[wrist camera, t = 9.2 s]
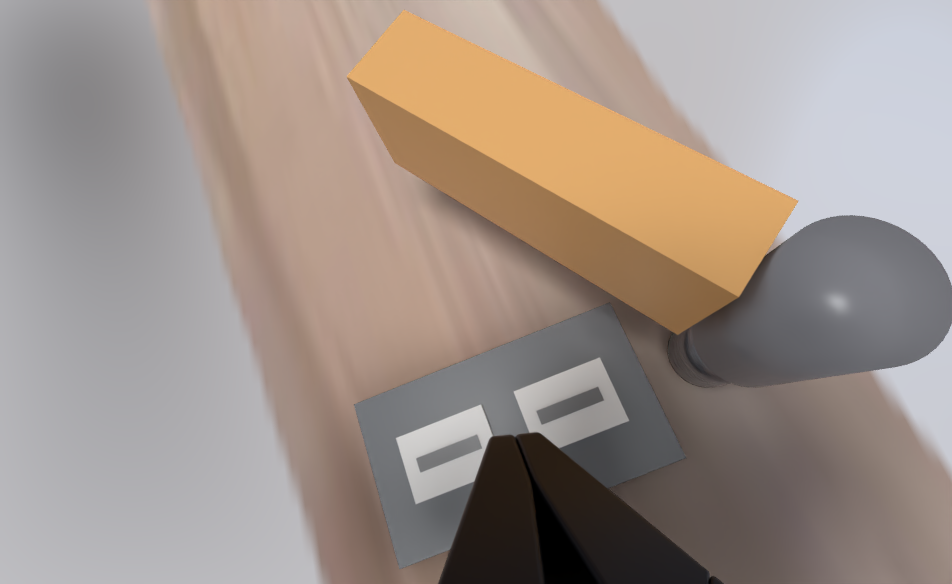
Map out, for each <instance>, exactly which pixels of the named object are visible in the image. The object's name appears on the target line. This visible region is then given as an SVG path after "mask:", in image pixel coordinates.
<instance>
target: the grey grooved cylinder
mask: <svg viewBox="0 0 952 584" xmlns="http://www.w3.org/2000/svg"><path fill="white" fill-rule="evenodd" d="M668 356H669V360H670V363H671V365H672V367H673V368H674V370H675V371H676V372H677V374H678V375H679V376H680V377H682V378H683V379H684V380H686V381H687V382H689V383H691V384H693V385H696V386H700V387H715V386H720V385H725V384H731V383H730V382H727V381H725V380H724V379H722V378H720V377H718V376H717V375H716V374H714V373H713V372H712V371H711V370H710V369H708V367H707V366H706V365H705V364H704V363H703V361H702V360H701V359H700V357H699V355H698V353H697V351H696V349H695V346H694V343H693V339H692V326H691V327H690V328H688V329H686V330H685V331H683V332H681V333H680V334H678V335H677V334H675V333H674V332H673V334H672V336H671V338H670V340H669V344H668Z"/></svg>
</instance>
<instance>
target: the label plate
mask: <svg viewBox="0 0 952 584" xmlns="http://www.w3.org/2000/svg"><path fill="white" fill-rule="evenodd" d="M354 406H355V410H356V413H357V417H358V421H359V424H360V428H361V432H362V435H363V439H364V442H365V446H366V450H367V453H368V457H369V460H370V464H371V468H372V471H373V475H374V478H375V482H376V486H377V489H378V493H379V496H380V500H381V504H382V507H383V511H384V515H385V518H386V522H387V525H388V529H389V533H390V536H391V540H392V543H393V547H394V551H395V554H396V558H397V561H398V565H399V569H401V568H404V567H407V566H409V565H412V564H414V563H417V562H419V561H422V560H425V559H427V558H430V557H432V556H435V555H438V554H440V553H443V552H445V551H448V550H450V549H451V546H452V543H453V540H454V537H455V535H456V532H457V529H458V526H459V523H460V520H461V518H462V515H463V512H464V509H465V506H466V503H467V500H468V498H469V495H470V492H471V489H472V486H473V483H474V481H475V478H476V475H477V472H478V469H479V466H480V463H481V461H482V458H483V455H484V452H485V449H486V446H487V444H488V441H489V439H490V437H492V436H499V435H513V436H514V437H516V435H517V434H521V433H531V432H539V433H541V434H542V435H544V436H545V437H546V438H547V439H548V440H550V441H551V442H552V443H553V444H554V445H556V446H557V447H558V448H559V449H561V450H562V451H563V452H564V453H565V454H567V455H568V456H569V457H570V458H571V459H573V460H574V461H575V462H576V463H578V464H579V465H580V466H581V467H582V468H584V469H585V470H586V471H587V472H588V473H590V474H591V475H592V476H593V477H595V478H596V479H597V480H598V481H599V482H601V483H602V484H603V485H604V486H605V487H607V488H610V487H613V486H615V485H618V484H620V483H623V482H625V481H628V480H631V479H633V478H636V477H638V476H641V475H643V474H646V473H649V472H651V471H654V470H656V469H659V468H661V467H664V466H667V465H669V464H672V463H674V462H677V461H680V460H682V459H685V458H686V456H685V454H684V452H683V450H682V448H681V446H680V444H679V442H678V440H677V438H676V436H675V434H674V432H673V430H672V428H671V426H670V424H669V422H668V420H667V418H666V415H665V413H664V411H663V409H662V407H661V405H660V403H659V401H658V399H657V397H656V395H655V393H654V391H653V389H652V387H651V385H650V383H649V381H648V379H647V377H646V375H645V373H644V371H643V369H642V367H641V365H640V363H639V361H638V359H637V357H636V355H635V352H634V350H633V348H632V346H631V344H630V342H629V340H628V338H627V336H626V334H625V332H624V330H623V328H622V326H621V324H620V322H619V320H618V318H617V316H616V314H615V312H614V310H613V308H612V306H611V304H610V303H607V304H605V305H602V306H600V307H597V308H595V309H592V310H590V311H587V312H585V313H582V314H580V315H577V316H575V317H572V318H570V319H567V320H565V321H562V322H560V323H557V324H555V325H552V326H550V327H547V328H544V329H542V330H539V331H537V332H534V333H532V334H529V335H527V336H524V337H522V338H519V339H517V340H514V341H512V342H509V343H507V344H504V345H502V346H499V347H497V348H494V349H492V350H489V351H487V352H484V353H482V354H479V355H477V356H474V357H472V358H469V359H467V360H464V361H462V362H459V363H457V364H454V365H452V366H449V367H447V368H444V369H442V370H439V371H437V372H434V373H432V374H429V375H427V376H424V377H422V378H419V379H417V380H414V381H412V382H409V383H407V384H404V385H402V386H399V387H397V388H394V389H392V390H389V391H387V392H384V393H382V394H379V395H377V396H374V397H372V398H369V399H367V400H364V401H362V402H359V403H357V404H354Z"/></svg>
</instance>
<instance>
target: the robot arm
mask: <svg viewBox="0 0 952 584" xmlns="http://www.w3.org/2000/svg"><path fill="white" fill-rule="evenodd" d="M438 584H724V583H722V582H721V581H720V580H719V579H717V578H716V577H714V576H712V577H710V574H709V572H708V571H707V570H706V569H705V568H704V567H703V566H701V565H700V564H699V563H698V562H696V561H695V560H694V559H693V558H692V557H690V556H689V555H688V554H687V553H686V552H684V551H683V550H682V549H681V548H680V547H678V546H677V545H676V544H675V543H673V542H672V541H671V540H670V539H669V538H667V537H666V536H665V535H664V534H663V533H661V532H660V531H659V530H658V529H656V528H655V527H654V526H653V525H652V524H650V523H649V522H648V521H647V520H646V519H644V518H643V517H642V516H641V515H639V514H638V513H637V512H636V511H635V510H633V509H632V508H631V507H630V506H629V505H627V504H626V503H625V502H624V501H622V500H621V499H620V498H619V497H618V496H616V495H615V494H614V493H613V492H612V491H610V490H609V489H608V488H607V487H605V486H604V485H603V484H602V483H601V482H599V481H598V480H597V479H596V478H595V477H593V476H592V475H591V474H590V473H588V472H587V471H586V470H585V469H584V468H582V467H581V466H580V465H579V464H578V463H576V462H575V461H574V460H573V459H571V458H570V457H569V456H568V455H567V454H565V453H564V452H563V451H562V450H561V449H559V448H558V447H557V446H556V445H554V444H553V443H552V442H551V441H550V440H548V439H547V438H546V437H545V436H544V435H542V434H541V433H539V432H531V433H521V434H517V435H516V437H514V436H513V435H499V436H492V437H490V439H489V441H488V444H487V446H486V449H485V452H484V455H483V458H482V461H481V463H480V466H479V469H478V472H477V475H476V478H475V481H474V483H473V486H472V489H471V492H470V495H469V498H468V500H467V503H466V506H465V509H464V512H463V515H462V518H461V520H460V523H459V526H458V529H457V532H456V535H455V537H454V540H453V543H452V546H451V549H450V552H449V554H448V557H447V560H446V563H445V566H444V569H443V572H442V574H441V577H440V580H439V583H438Z"/></svg>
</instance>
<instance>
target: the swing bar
mask: <svg viewBox="0 0 952 584" xmlns="http://www.w3.org/2000/svg"><path fill="white" fill-rule="evenodd" d="M347 78H348V80H349V82H350V84H351V86H352V87H353V89H354V91H355V93H356V94H357V96H358V98H359V100H360V102H361V103H362V105H363V107H364V109H365V110H366V112H367V114H368V116H369V118H370V119H371V121H372V123H373V125H374V127H375V128H376V130H377V132H378V134H379V135H380V137H381V139H382V141H383V143H384V144H385V146H386V148H387V150H388V151H389V153H390V155H391V157H392V159H393V160H394V162H395V163H396V164H398V165H399V166H401V167H402V168H404V169H406V170H407V171H409V172H411V173H412V174H414V175H416V176H417V177H419V178H421V179H422V180H424V181H425V182H427V183H429V184H430V185H432V186H434V187H435V188H437V189H439V190H440V191H442V192H444V193H445V194H447V195H449V196H450V197H452V198H453V199H455V200H457V201H458V202H460V203H462V204H463V205H465V206H467V207H468V208H470V209H472V210H473V211H475V212H476V213H478V214H480V215H481V216H483V217H485V218H486V219H488V220H490V221H491V222H493V223H495V224H496V225H498V226H499V227H501V228H503V229H504V230H506V231H508V232H509V233H511V234H513V235H514V236H516V237H518V238H519V239H521V240H522V241H524V242H526V243H527V244H529V245H531V246H532V247H534V248H536V249H537V250H539V251H541V252H542V253H544V254H545V255H547V256H549V257H550V258H552V259H554V260H555V261H557V262H559V263H560V264H562V265H564V266H565V267H567V268H569V269H570V270H572V271H573V272H575V273H577V274H578V275H580V276H582V277H583V278H585V279H587V280H588V281H590V282H592V283H593V284H595V285H596V286H598V287H600V288H601V289H603V290H605V291H606V292H608V293H610V294H611V295H613V296H615V297H616V298H618V299H619V300H621V301H623V302H624V303H626V304H628V305H629V306H631V307H633V308H634V309H636V310H638V311H639V312H641V313H642V314H644V315H646V316H647V317H649V318H651V319H652V320H654V321H656V322H657V323H659V324H661V325H662V326H664V327H666V328H667V329H669V330H670V331H672V332H674V333H675V334H677V335H678V334H680V333H681V332H683V331H685V330H686V329H688V328H690V327H691V326H692V339H693V343H694V346H695V349H696V351H697V353H698V355H699V357H700V359H701V360H702V361H703V363H704V364H705V365H706V366H707V367H708V369H710V370H711V371H712V372H713V373H714V374H716V375H717V376H718V377H720V378H722V379H724V380H725V381H727V382H730V383H732V384H735V385H739V386H744V387H764V386H771V385H778V384H785V383H791V382H798V381H805V380H811V379H818V378H825V377H832V376H838V375H845V374H852V373H859V372H865V371H872V370H879V369H885V368H892V367H898V366H902V365H907V364H909V363H912V362H915V361H917V360H919V359H921V358H923V357H924V356H926V355H928V354H929V353H930V352H932V351H933V350H934V349H936V347H937V346H938V345H939V344H940V343H941V342H942V341H943V339H944V338H945V336H946V335H947V333H948V331H949V329H950V326H951V324H952V286H951V283H950V280H949V277H948V275H947V273H946V271H945V269H944V268H943V266H942V264H941V263H940V261H939V260H938V259H937V258H936V256H935V255H934V254H933V252H932V251H931V250H929V249H928V248H927V246H926V245H924V244H923V243H922V242H921V241H920V240H919V239H917V238H916V237H914V236H913V235H911V234H910V233H908V232H907V231H905V230H903V229H901V228H899V227H897V226H895V225H893V224H890V223H888V222H885V221H882V220H878V219H875V218H870V217H864V216H853V215H851V216H836V217H830V218H826V219H822V220H819V221H817V222H814V223H812V224H810V225H808V226H806V227H804V228H803V229H801V230H800V231H799V232H797V233H796V234H794V235H793V236H792V237H790V238H789V239H788V240H786V241H785V242H783V243H782V244H781V245H779V246H778V247H777V248H775V249H774V250H772V251H771V252H770V253H768V254H767V255H766V256H765V254H766V253H767V251H768V249H769V248H770V246H771V245H772V243H773V241H774V240H775V238H776V237H777V235H778V233H779V232H780V230H781V229H782V227H783V225H784V224H785V222H786V220H787V219H788V217H789V216H790V214H791V212H792V211H793V209H794V208H795V206H796V204H797V203H798V201H797V200H796V199H793V198H791V197H789V196H787V195H785V194H783V193H781V192H779V191H777V190H775V189H773V188H771V187H768V186H767V185H765V184H762V183H760V182H758V181H756V180H754V179H752V178H750V177H748V176H746V175H744V174H742V173H740V172H738V171H736V170H734V169H732V168H729V167H727V166H725V165H723V164H721V163H719V162H717V161H715V160H713V159H711V158H709V157H707V156H705V155H703V154H701V153H698V152H696V151H694V150H692V149H690V148H688V147H686V146H684V145H682V144H680V143H678V142H676V141H674V140H672V139H670V138H667V137H665V136H663V135H661V134H659V133H657V132H655V131H653V130H651V129H649V128H647V127H645V126H643V125H641V124H639V123H637V122H634V121H632V120H630V119H628V118H626V117H624V116H622V115H620V114H618V113H616V112H614V111H612V110H610V109H608V108H606V107H603V106H601V105H599V104H597V103H595V102H593V101H591V100H589V99H587V98H585V97H583V96H581V95H579V94H577V93H575V92H572V91H570V90H568V89H566V88H564V87H562V86H560V85H558V84H556V83H554V82H552V81H550V80H548V79H546V78H544V77H542V76H539V75H537V74H535V73H533V72H531V71H529V70H527V69H525V68H523V67H521V66H519V65H517V64H515V63H513V62H511V61H508V60H506V59H504V58H502V57H500V56H498V55H496V54H494V53H492V52H490V51H488V50H486V49H484V48H482V47H480V46H477V45H475V44H473V43H471V42H469V41H467V40H465V39H463V38H461V37H459V36H457V35H455V34H453V33H451V32H449V31H446V30H444V29H442V28H440V27H438V26H436V25H434V24H432V23H430V22H428V21H426V20H424V19H422V18H420V17H418V16H416V15H413V14H411V13H409V12H407V11H405V10H403V11H402V13H401V14H400V15H399V16H398V17H397V18H396V20H395V21H394V22H393V23H392V24H391V25H390V27H389V28H388V29H387V30H386V31H385V32H384V34H383V35H382V36H381V37H380V38H379V39H378V41H377V42H376V43H375V44H374V45H373V46H372V48H371V49H370V50H369V51H368V52H367V53H366V55H365V56H364V57H363V58H362V59H361V60H360V62H359V63H358V64H357V65H356V66H355V67H354V69H353V70H352V71H351V72H350V73H349V74H348V76H347Z"/></svg>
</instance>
